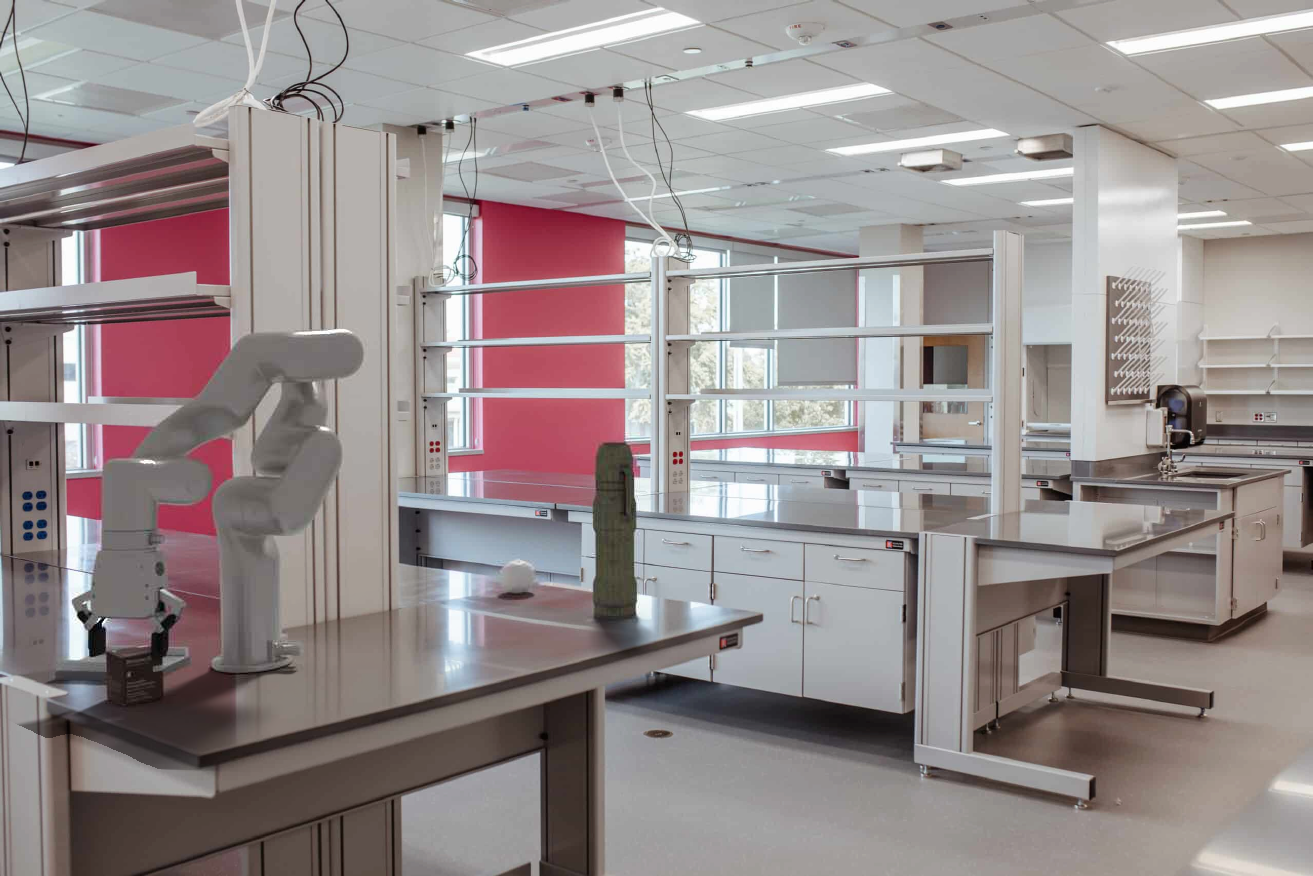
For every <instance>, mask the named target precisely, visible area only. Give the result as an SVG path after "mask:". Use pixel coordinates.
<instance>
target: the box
mask: <svg viewBox="0 0 1313 876" xmlns="http://www.w3.org/2000/svg"><path fill="white" fill-rule="evenodd" d="M137 646H138V647H129V648H123V649H118V650H112V651H107V652H106V664H107V681H106V694H107V695H106V699H107V700H109V701H112V702H114V703H116V704H119V705H120V706H123V707H125V706H131V705H136V704H141V703H147V702H152V701H156V700H161V699H164V698H165V695H164V691H165V689H164V676H163V658H160V659H157V660H152V659H151V647H150V646H151V645H147V644H146V645H137Z"/></svg>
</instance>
